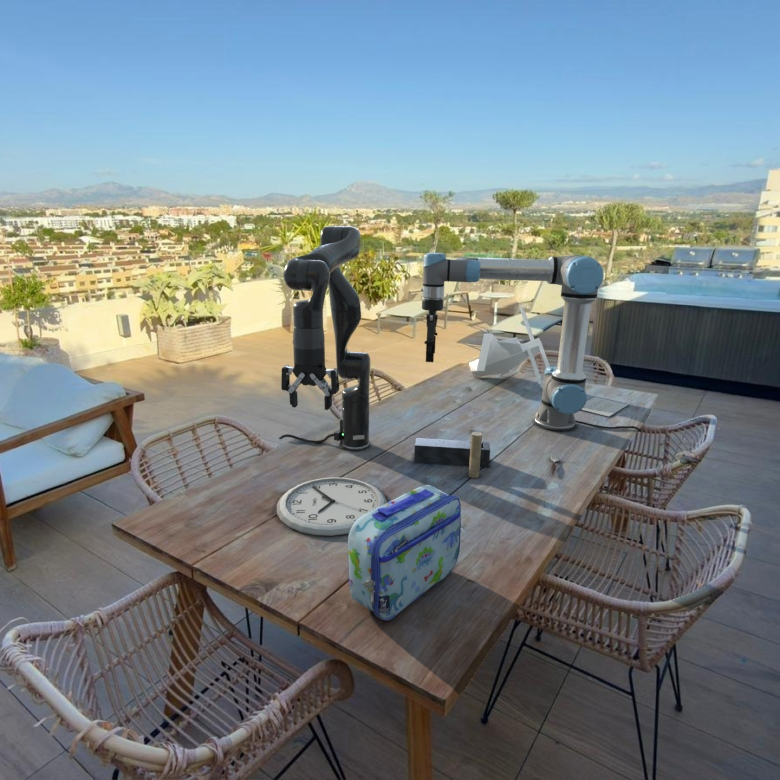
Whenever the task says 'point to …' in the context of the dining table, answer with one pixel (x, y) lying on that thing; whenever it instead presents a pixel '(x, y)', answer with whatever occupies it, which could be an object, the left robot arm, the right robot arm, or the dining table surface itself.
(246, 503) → the dining table surface
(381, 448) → the dining table surface
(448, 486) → the dining table surface
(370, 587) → the lunch box
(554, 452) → the fork
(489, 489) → the dining table surface
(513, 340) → the white plastic object
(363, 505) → the wall clock
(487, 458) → the peg board
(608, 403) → the invitation card
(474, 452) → the peg
